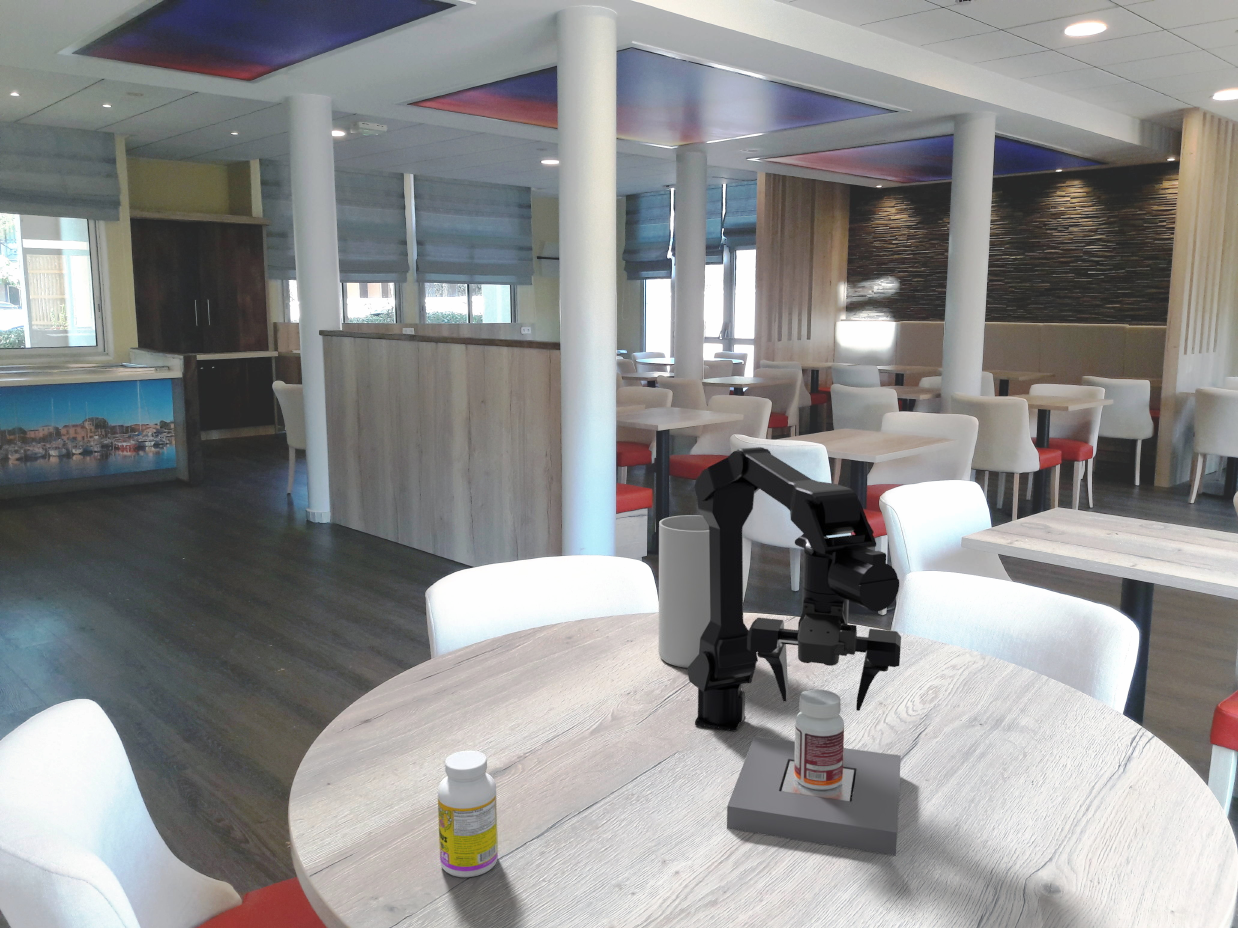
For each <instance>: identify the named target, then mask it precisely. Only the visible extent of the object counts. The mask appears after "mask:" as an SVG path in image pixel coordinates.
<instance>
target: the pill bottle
mask: <svg viewBox="0 0 1238 928" xmlns="http://www.w3.org/2000/svg"><path fill="white" fill-rule="evenodd" d="M798 699H799V700H798V701H799V703H798V709H799V712H798V713H797V715H796V716H795V722H794V723H795V724H794V741H795V762H794V775H795V778H796V780H797V781H798V782H799V783H800V784H802V785H803V786H805V787H808V788H811V789H818V790H826V789H832V788H835V787H837V786H839V785H840V784H841V782H842V779H843V751H844V748H845V747H844V744H845V740H844V739H845V722H844V718H843V717H842V715H840V713H841V697H840V696H839V694H837V693H835V692H833V691H830V690H824V689H814V688H813V689H808V690H804V691H802V692H801V693H800V694H799V698H798Z"/></svg>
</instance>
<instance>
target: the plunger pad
mask: <svg viewBox="0 0 1238 928" xmlns="http://www.w3.org/2000/svg"><path fill="white" fill-rule="evenodd" d="M853 785H854V770H851V769H844V768H843V779H842V782H841V784H840V785H839V786H837V787H835V788H832V789H826V790H818V789H811V788H808V787H805V786H803V785H802V784H800V783H799V782H798V781H797V780H796V778H795V775H794V762H793V761H790V763H789V766H788V770H787V773H786V777H785V780H784V784H783V787H782V792H788V793H795V794H802V795H809V796H815V797H822V798H829V799H835V800H842V801H849V802H852V798H853V791H854V789H853Z"/></svg>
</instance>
